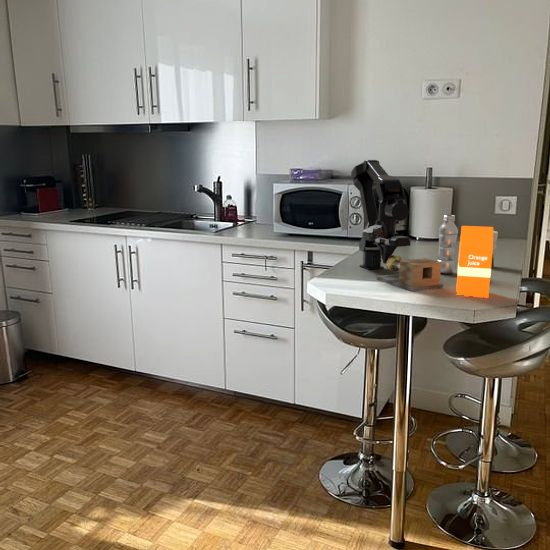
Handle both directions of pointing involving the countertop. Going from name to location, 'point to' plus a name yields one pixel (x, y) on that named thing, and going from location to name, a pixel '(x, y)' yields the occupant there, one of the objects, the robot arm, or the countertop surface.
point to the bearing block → (416, 275)
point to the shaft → (394, 263)
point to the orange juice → (475, 261)
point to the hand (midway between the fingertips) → (385, 263)
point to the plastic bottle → (447, 244)
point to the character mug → (494, 244)
